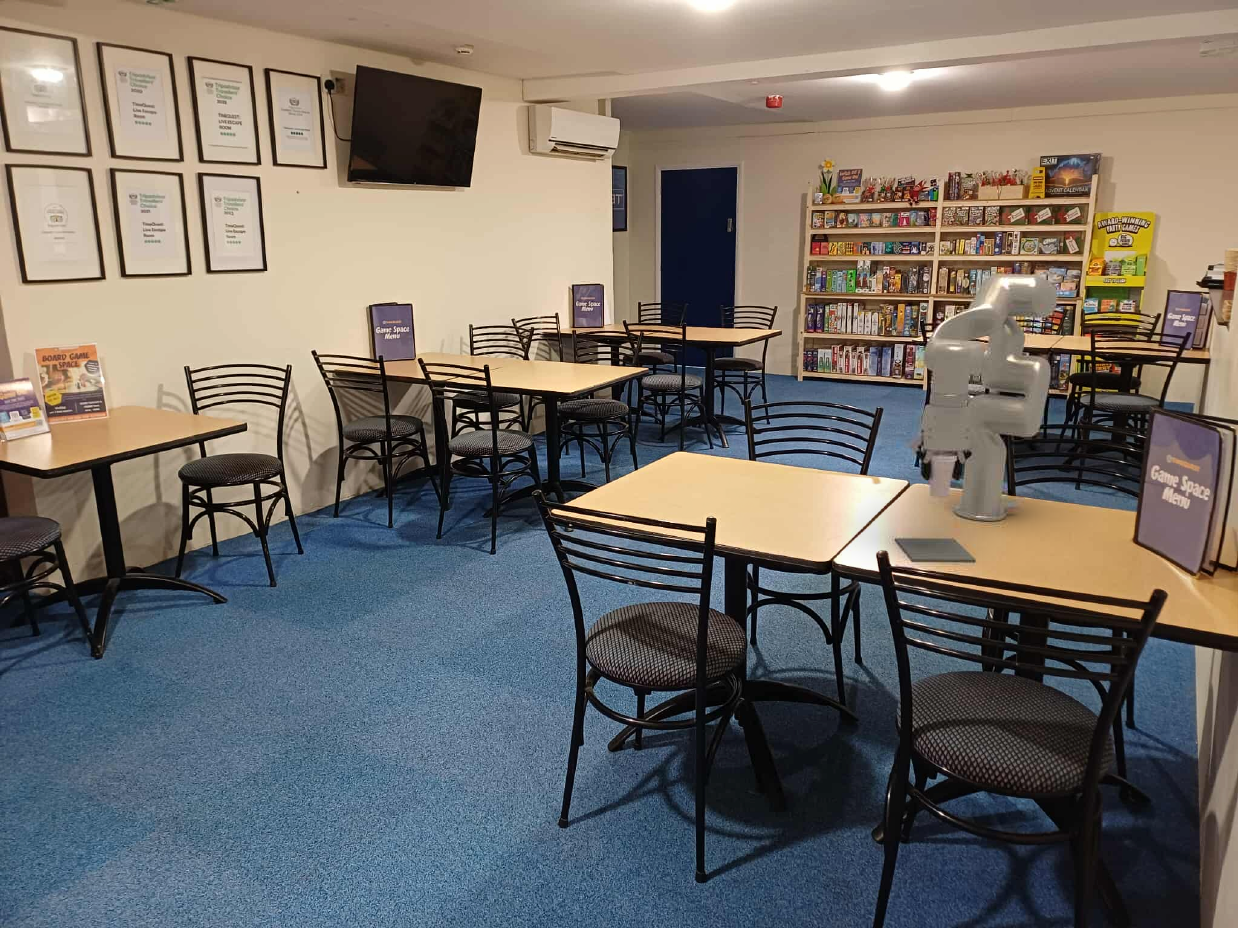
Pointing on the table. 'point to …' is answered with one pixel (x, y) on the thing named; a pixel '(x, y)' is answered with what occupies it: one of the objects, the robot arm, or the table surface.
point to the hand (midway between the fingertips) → (940, 478)
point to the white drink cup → (941, 473)
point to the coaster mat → (934, 550)
